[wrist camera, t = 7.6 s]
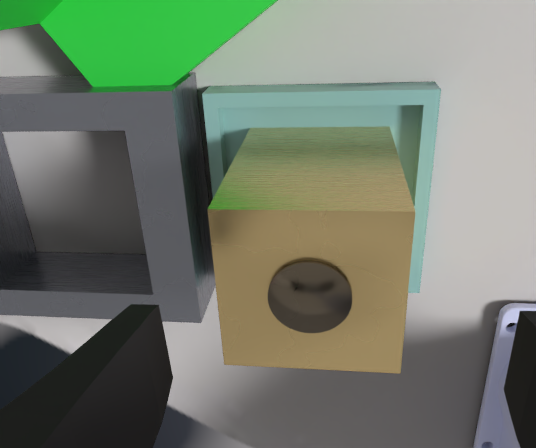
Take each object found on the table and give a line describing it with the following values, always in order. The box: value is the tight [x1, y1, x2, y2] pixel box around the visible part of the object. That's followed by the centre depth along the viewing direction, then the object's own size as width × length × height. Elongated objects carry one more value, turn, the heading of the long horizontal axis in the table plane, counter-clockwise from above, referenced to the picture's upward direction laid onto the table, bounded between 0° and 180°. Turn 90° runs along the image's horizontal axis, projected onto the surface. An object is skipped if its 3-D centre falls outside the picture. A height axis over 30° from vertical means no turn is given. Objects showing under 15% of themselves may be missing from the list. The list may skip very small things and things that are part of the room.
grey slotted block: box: [0, 73, 216, 323], centre depth 20 cm, size 9×14×3 cm, turn 92°
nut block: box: [208, 126, 416, 374], centre depth 17 cm, size 5×5×7 cm
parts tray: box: [202, 82, 441, 293], centre depth 20 cm, size 8×8×1 cm
